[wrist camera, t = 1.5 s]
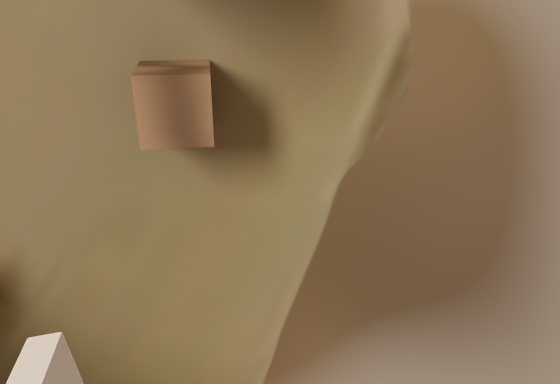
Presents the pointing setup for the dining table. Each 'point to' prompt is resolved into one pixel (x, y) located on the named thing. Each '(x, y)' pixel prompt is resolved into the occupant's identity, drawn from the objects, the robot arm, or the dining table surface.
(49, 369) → the robot arm
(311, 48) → the dining table surface
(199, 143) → the walnut block
